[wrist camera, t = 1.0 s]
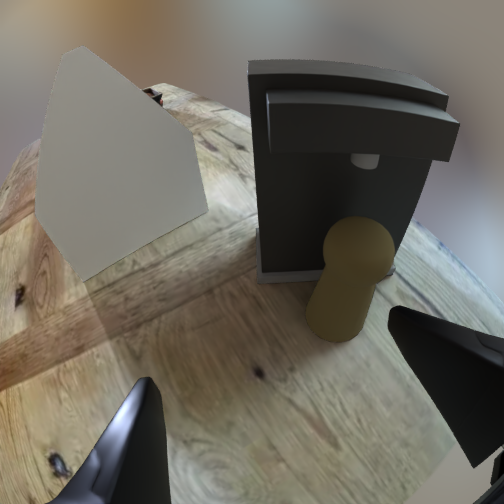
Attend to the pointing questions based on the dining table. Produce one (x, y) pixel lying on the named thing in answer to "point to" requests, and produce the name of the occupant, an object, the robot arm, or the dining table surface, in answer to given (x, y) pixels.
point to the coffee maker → (337, 155)
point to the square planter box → (154, 95)
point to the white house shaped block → (111, 166)
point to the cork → (349, 277)
